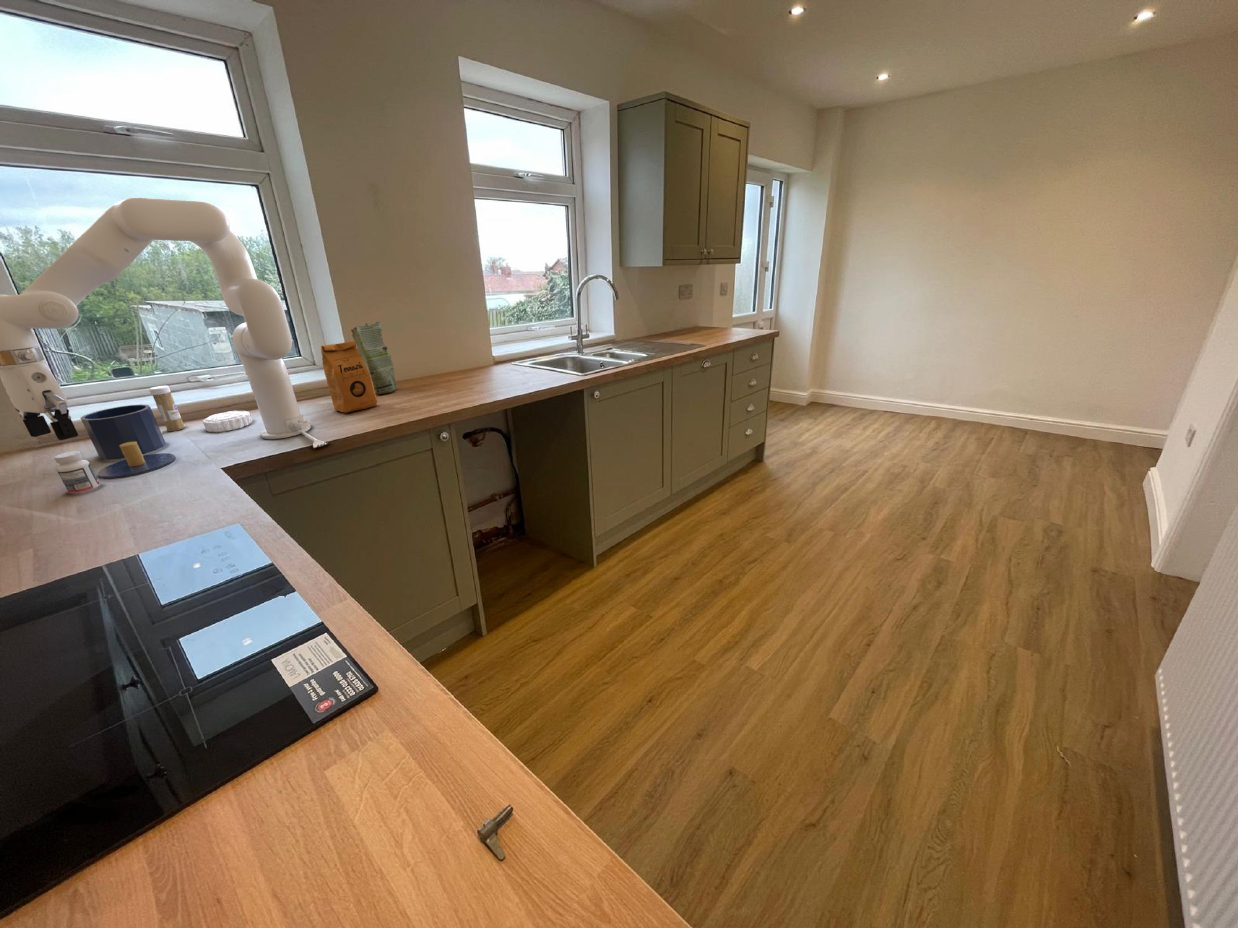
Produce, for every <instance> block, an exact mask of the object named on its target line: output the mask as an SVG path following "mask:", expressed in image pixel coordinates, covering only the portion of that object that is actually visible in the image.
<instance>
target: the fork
mask: <svg viewBox="0 0 1238 928" xmlns="http://www.w3.org/2000/svg"><path fill="white" fill-rule="evenodd" d="M301 434H302V435H303V436H304V437H306V438H307V439H309V440H310V441H311V442H312V448H313V449H316V448H321V447H323V446H327V445H329V441H327V442H325V441H323V440H320V439H317V438H316V437H314V436H313V435H310V434H309V433H307V431H306V432H304V431H302V432H301Z"/></svg>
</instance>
